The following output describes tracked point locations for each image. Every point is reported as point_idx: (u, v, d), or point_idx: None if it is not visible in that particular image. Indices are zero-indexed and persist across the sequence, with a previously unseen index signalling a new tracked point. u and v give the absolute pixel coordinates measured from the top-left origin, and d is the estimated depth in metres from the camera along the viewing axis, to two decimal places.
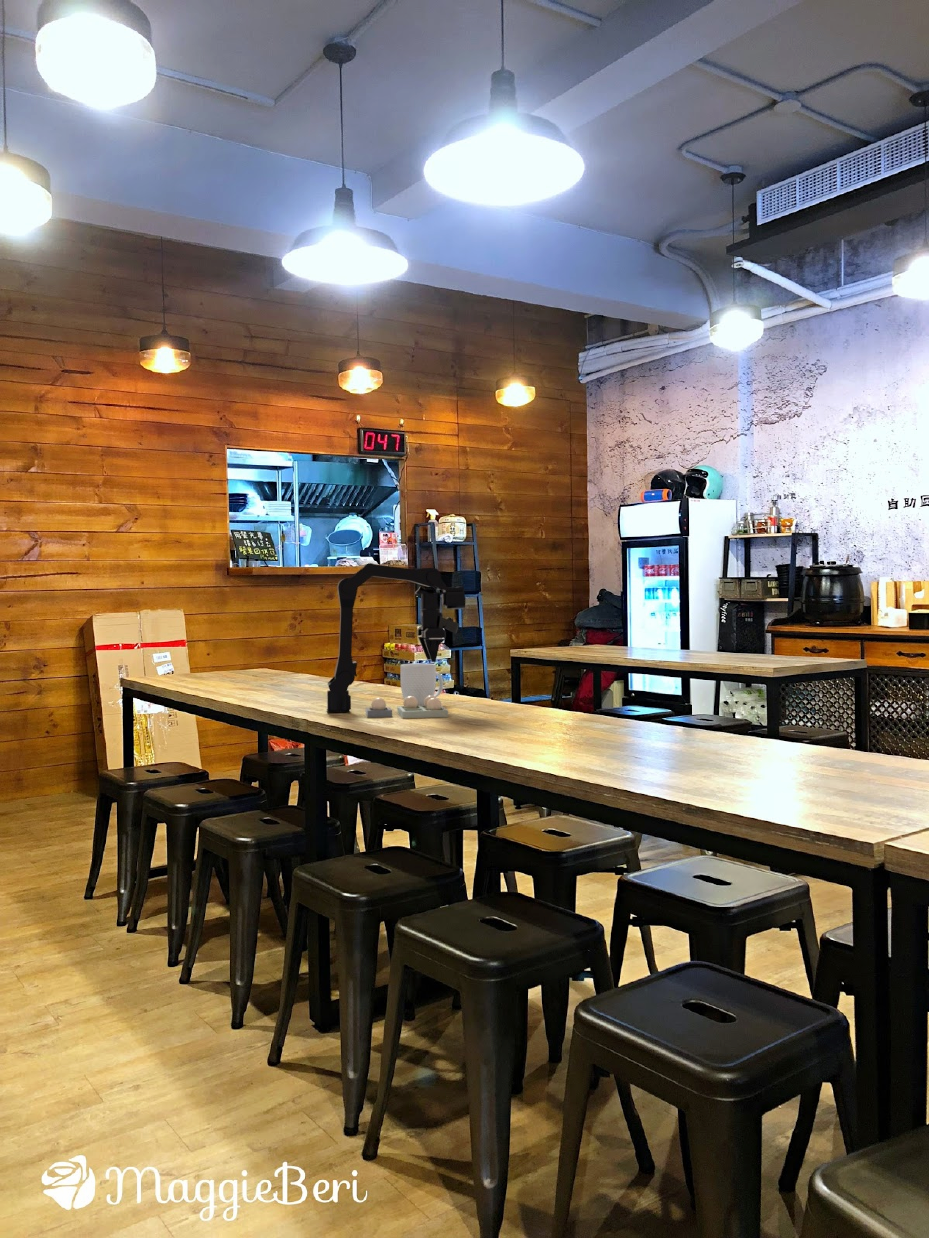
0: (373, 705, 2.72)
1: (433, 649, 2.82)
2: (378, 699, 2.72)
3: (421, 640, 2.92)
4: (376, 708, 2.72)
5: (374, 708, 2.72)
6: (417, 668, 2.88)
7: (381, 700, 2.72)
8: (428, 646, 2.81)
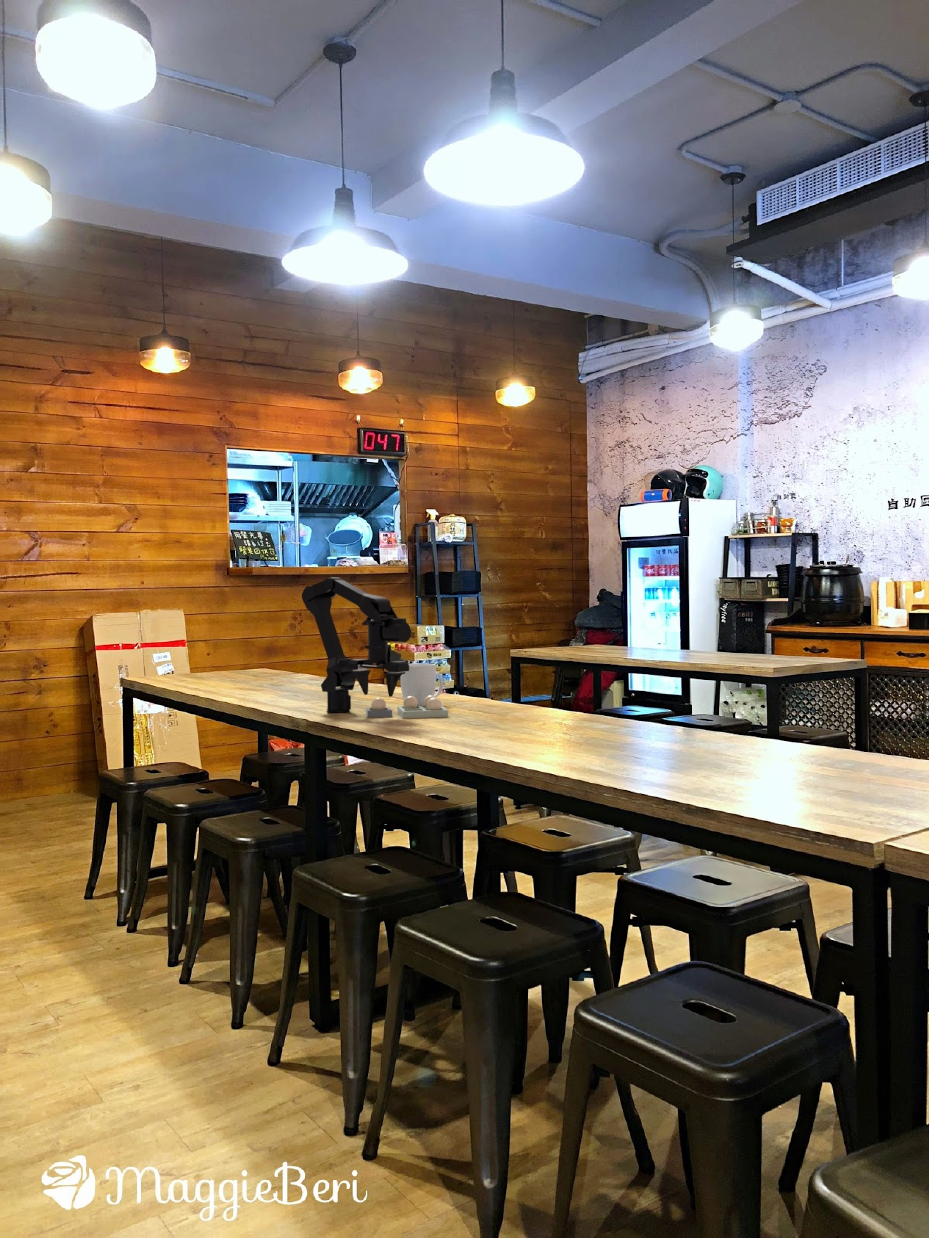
0: (373, 705, 2.72)
1: (393, 683, 2.70)
2: (378, 699, 2.72)
3: (359, 674, 2.74)
4: (376, 708, 2.72)
5: (374, 708, 2.72)
6: (417, 668, 2.88)
7: (381, 700, 2.72)
8: (391, 680, 2.68)
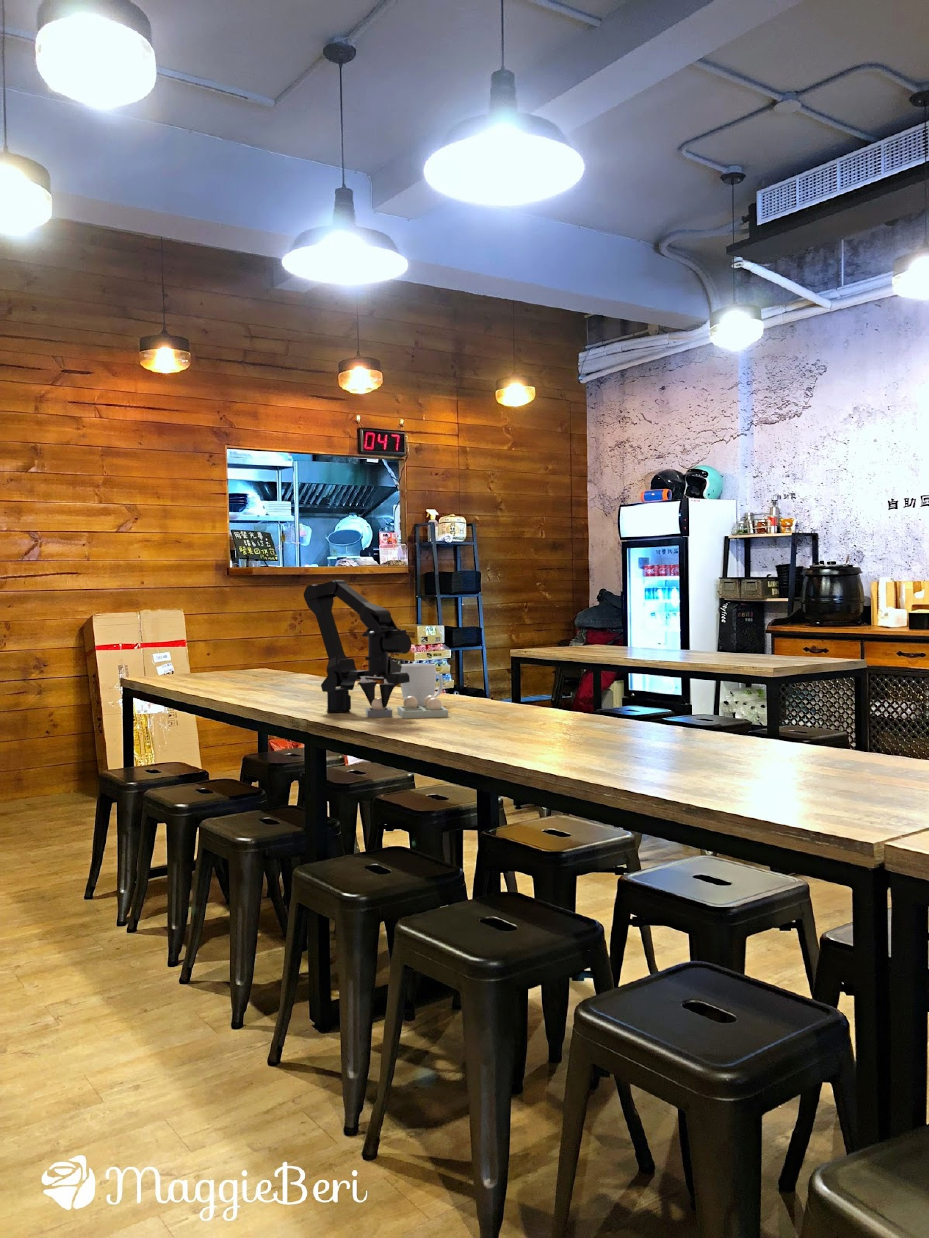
0: (373, 705, 2.72)
1: (387, 694, 2.71)
2: (378, 699, 2.72)
3: (366, 686, 2.73)
4: (376, 708, 2.72)
5: (374, 708, 2.72)
6: (417, 668, 2.88)
7: (381, 700, 2.72)
8: (385, 691, 2.70)
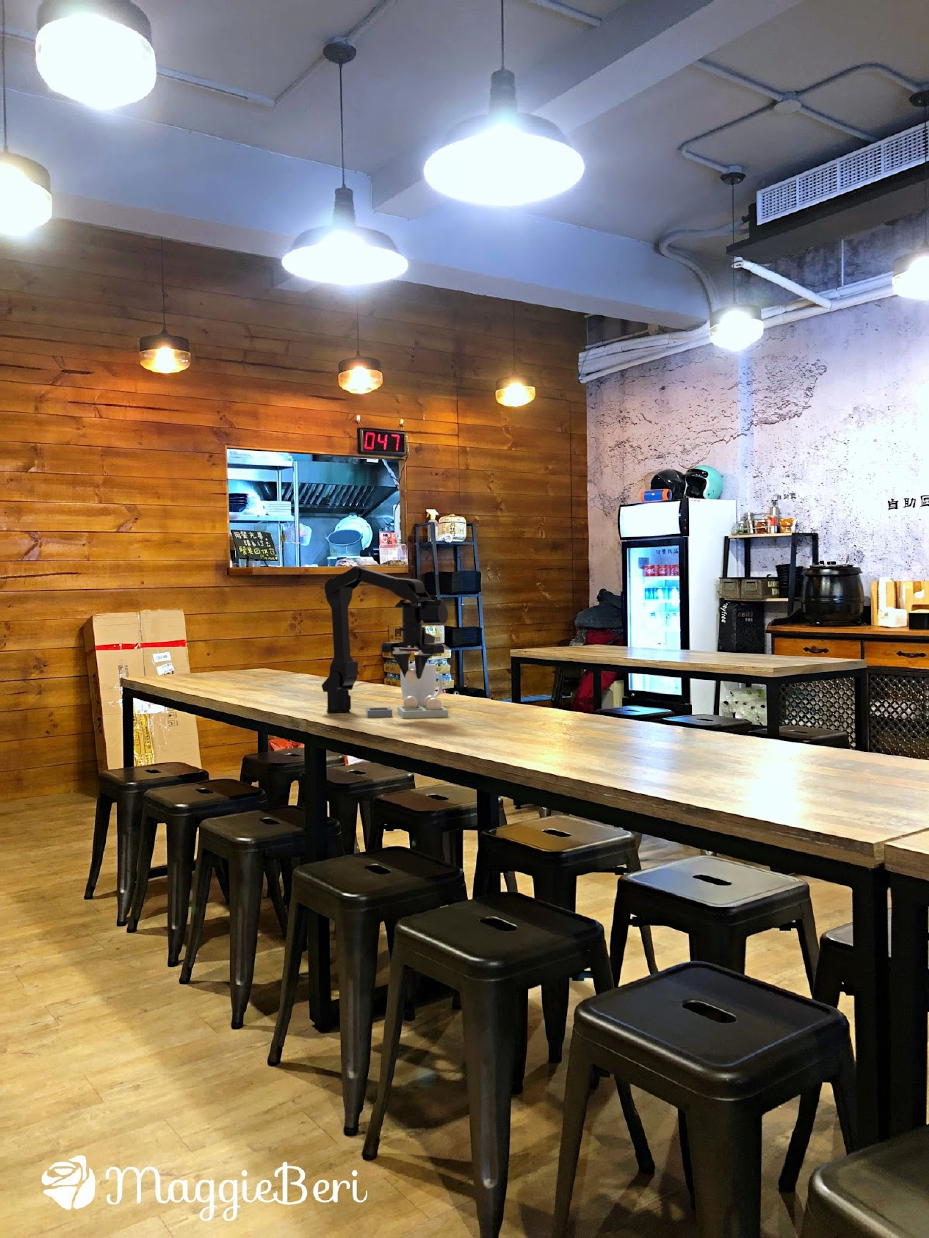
0: (407, 676, 2.69)
1: (421, 665, 2.69)
2: (412, 670, 2.70)
3: (400, 657, 2.70)
4: (410, 679, 2.69)
5: (408, 679, 2.69)
6: None
7: (415, 671, 2.70)
8: (419, 662, 2.67)
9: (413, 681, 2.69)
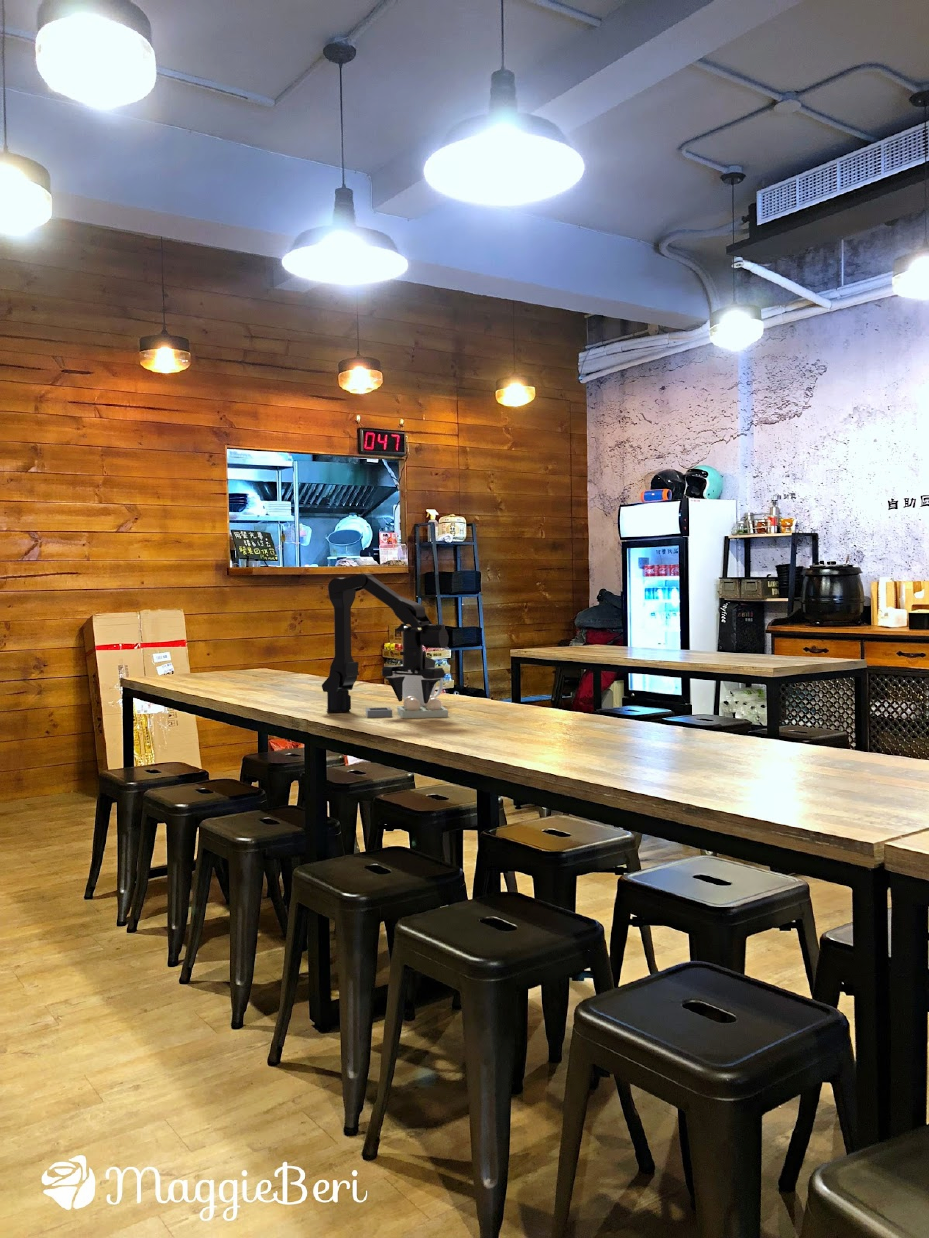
0: (408, 706, 2.70)
1: (428, 690, 2.68)
2: (413, 700, 2.70)
3: (394, 681, 2.72)
4: (411, 709, 2.69)
5: (409, 709, 2.70)
6: None
7: (416, 701, 2.70)
8: (426, 687, 2.66)
9: (413, 710, 2.70)
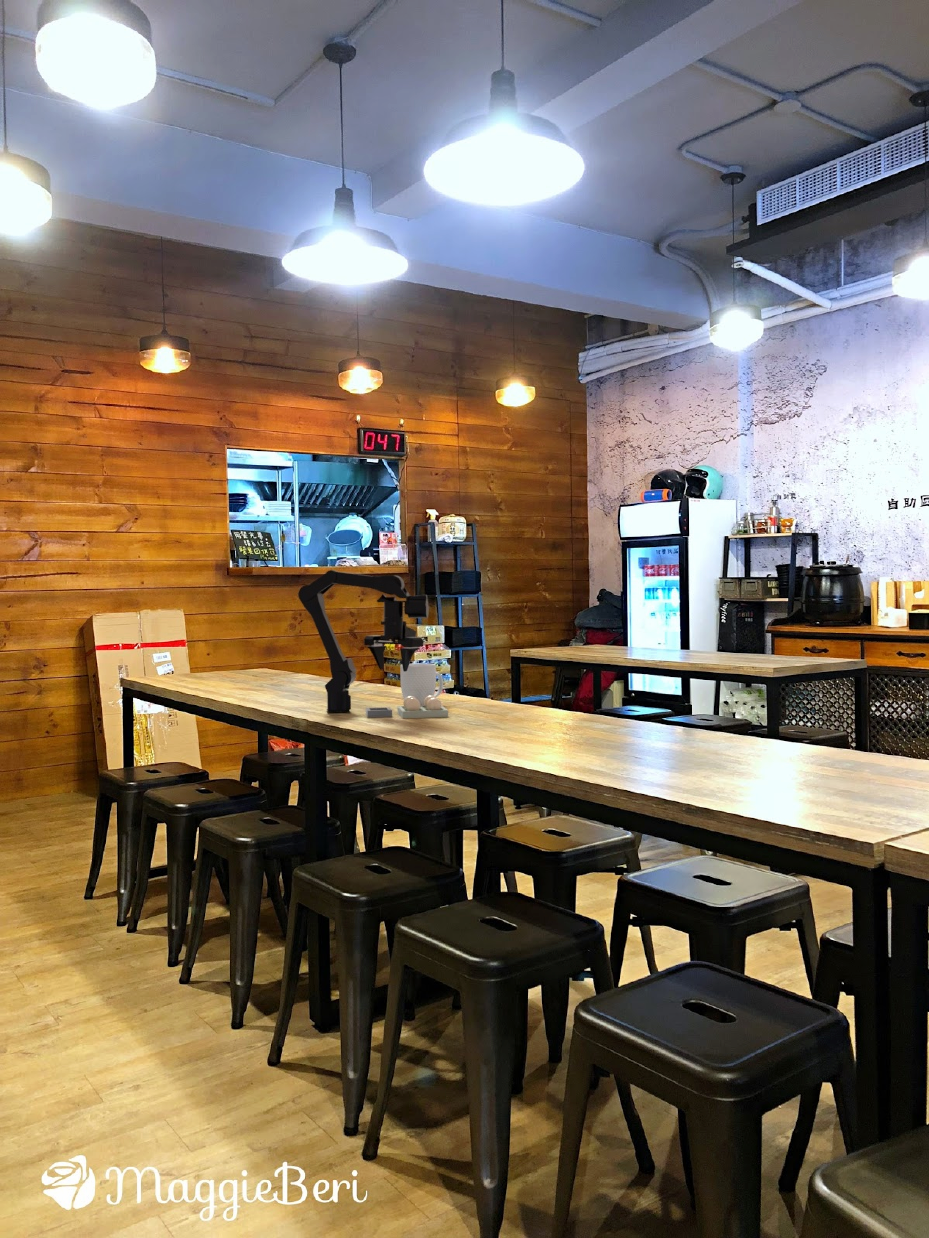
0: (408, 706, 2.70)
1: (407, 658, 2.77)
2: (413, 700, 2.70)
3: (375, 650, 2.82)
4: (411, 709, 2.69)
5: (409, 709, 2.70)
6: (417, 668, 2.88)
7: (416, 701, 2.70)
8: (405, 655, 2.76)
9: None
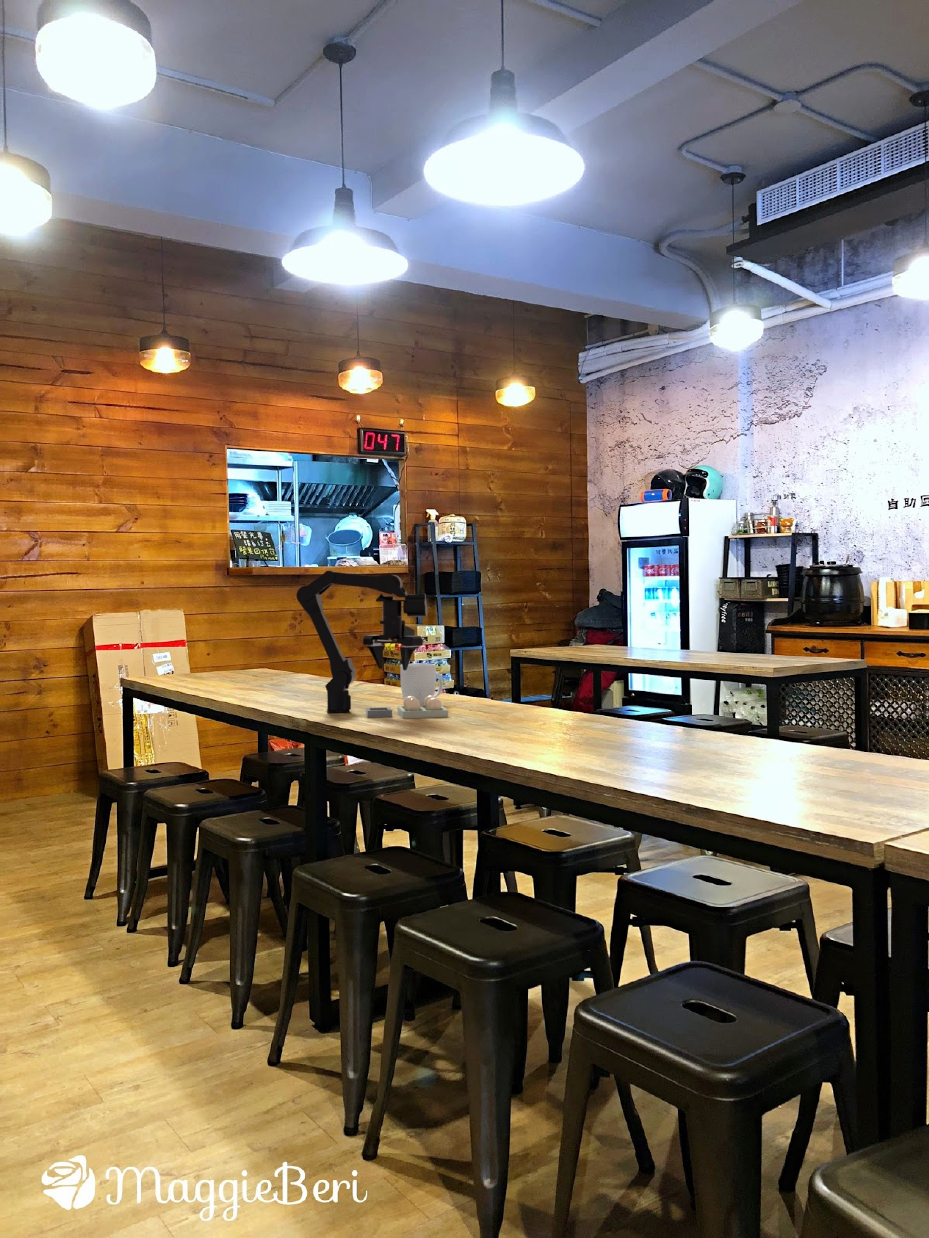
0: (408, 706, 2.70)
1: (407, 657, 2.78)
2: (413, 700, 2.70)
3: (374, 649, 2.83)
4: (411, 709, 2.69)
5: (409, 709, 2.70)
6: (417, 668, 2.88)
7: (416, 701, 2.70)
8: (405, 654, 2.77)
9: None
